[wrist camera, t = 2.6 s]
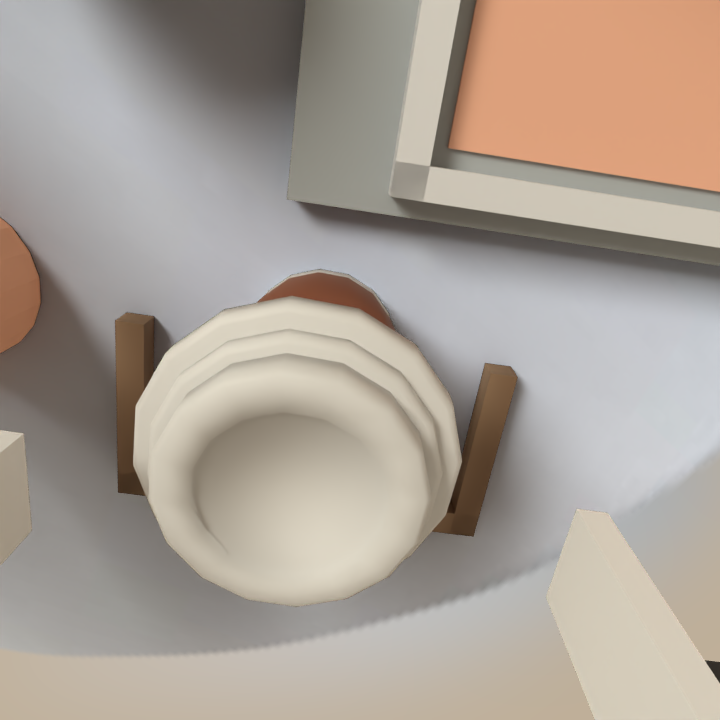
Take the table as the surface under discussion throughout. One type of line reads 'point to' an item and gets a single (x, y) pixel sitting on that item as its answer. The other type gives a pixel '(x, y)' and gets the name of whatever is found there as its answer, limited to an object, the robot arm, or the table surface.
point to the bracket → (476, 458)
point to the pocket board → (517, 118)
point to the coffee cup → (297, 444)
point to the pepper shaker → (16, 288)
